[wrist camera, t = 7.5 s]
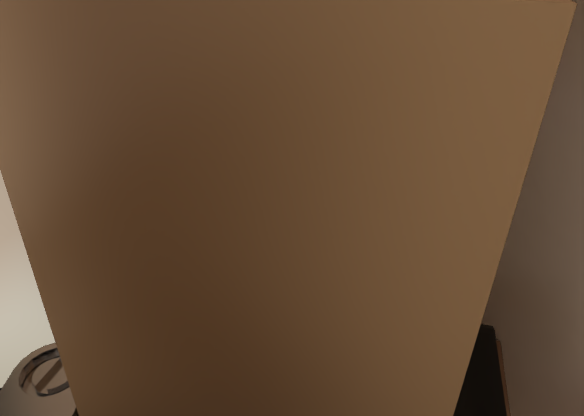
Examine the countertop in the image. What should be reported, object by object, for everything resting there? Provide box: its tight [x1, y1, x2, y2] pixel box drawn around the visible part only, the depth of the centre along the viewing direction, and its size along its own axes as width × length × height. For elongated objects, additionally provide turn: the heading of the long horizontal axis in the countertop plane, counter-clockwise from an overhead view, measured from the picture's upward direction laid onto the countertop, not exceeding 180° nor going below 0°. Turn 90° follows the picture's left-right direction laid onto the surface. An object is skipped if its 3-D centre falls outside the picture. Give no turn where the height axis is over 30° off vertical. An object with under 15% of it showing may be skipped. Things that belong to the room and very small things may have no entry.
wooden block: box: [0, 0, 577, 416], centre depth 9 cm, size 5×14×6 cm, turn 179°
